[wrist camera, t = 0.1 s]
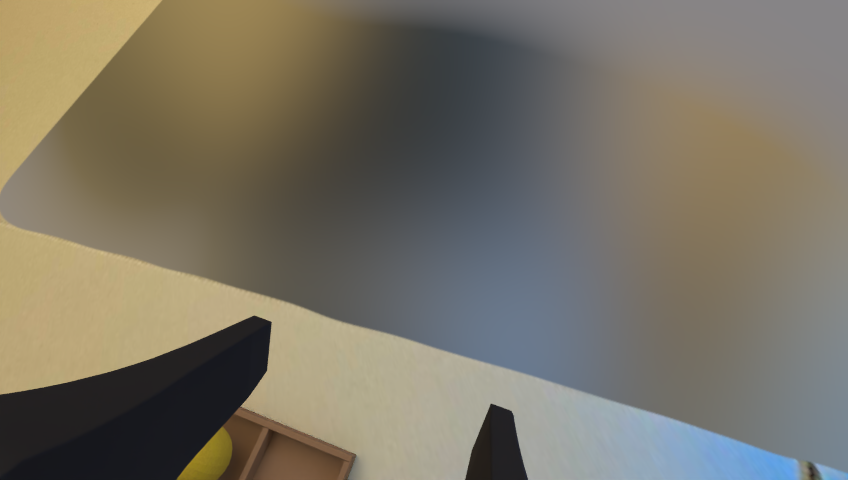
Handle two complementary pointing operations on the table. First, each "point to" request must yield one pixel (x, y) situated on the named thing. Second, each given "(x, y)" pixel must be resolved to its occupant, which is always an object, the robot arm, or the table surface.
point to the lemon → (210, 459)
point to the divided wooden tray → (280, 452)
